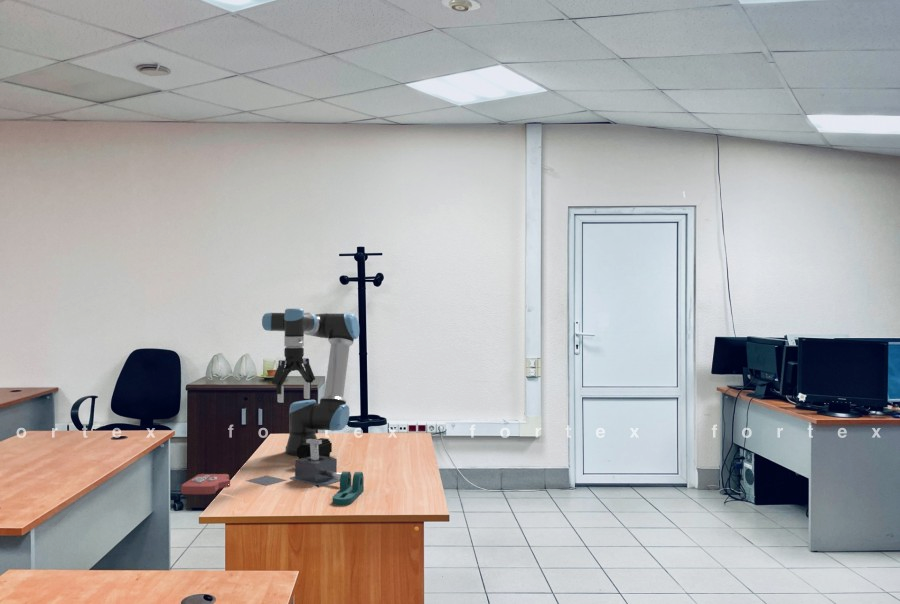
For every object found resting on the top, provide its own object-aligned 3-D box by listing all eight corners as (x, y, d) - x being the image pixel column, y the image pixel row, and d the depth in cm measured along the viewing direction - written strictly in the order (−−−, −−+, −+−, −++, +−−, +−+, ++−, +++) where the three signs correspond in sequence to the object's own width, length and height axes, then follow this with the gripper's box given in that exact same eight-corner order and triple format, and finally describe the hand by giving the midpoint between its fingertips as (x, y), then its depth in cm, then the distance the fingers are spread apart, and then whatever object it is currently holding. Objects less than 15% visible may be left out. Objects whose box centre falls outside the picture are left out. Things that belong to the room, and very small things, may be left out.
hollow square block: (289, 480, 267) (289, 459, 267) (313, 474, 277) (313, 453, 277) (331, 489, 254) (331, 467, 254) (354, 482, 263) (354, 461, 263)
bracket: (345, 491, 253) (345, 469, 253) (363, 492, 252) (363, 470, 252) (329, 505, 235) (330, 482, 235) (349, 506, 234) (349, 482, 234)
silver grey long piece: (306, 477, 268) (304, 439, 268) (312, 475, 270) (310, 438, 270) (319, 479, 264) (317, 441, 264) (325, 477, 266) (323, 439, 266)
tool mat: (245, 482, 264) (245, 480, 264) (266, 476, 272) (266, 475, 272) (266, 487, 257) (266, 485, 257) (287, 481, 265) (287, 480, 265)
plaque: (221, 485, 247) (179, 484, 248) (221, 495, 247) (179, 495, 248) (238, 472, 265) (198, 472, 265) (238, 482, 265) (198, 482, 265)
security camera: (335, 461, 299) (335, 437, 299) (309, 470, 283) (309, 445, 283) (322, 459, 302) (322, 436, 302) (295, 468, 286) (295, 444, 286)
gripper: (275, 349, 267) (275, 404, 267) (323, 345, 287) (323, 397, 287) (262, 348, 271) (262, 403, 271) (311, 345, 291) (310, 396, 291)
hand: (293, 400), depth 279 cm, fingers open, 13 cm apart
